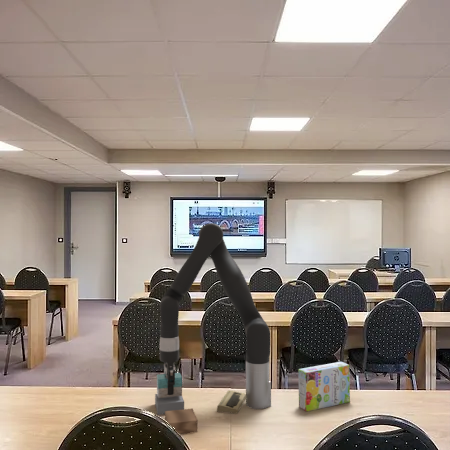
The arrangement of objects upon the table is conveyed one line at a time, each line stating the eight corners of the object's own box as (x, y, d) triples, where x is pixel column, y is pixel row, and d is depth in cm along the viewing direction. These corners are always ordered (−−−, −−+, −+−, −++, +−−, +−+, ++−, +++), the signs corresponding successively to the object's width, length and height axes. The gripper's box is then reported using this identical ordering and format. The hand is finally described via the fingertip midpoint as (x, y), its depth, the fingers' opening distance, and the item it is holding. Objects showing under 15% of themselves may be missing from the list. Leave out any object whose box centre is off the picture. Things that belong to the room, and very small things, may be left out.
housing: (179, 390, 176) (179, 372, 176) (182, 395, 170) (181, 377, 170) (156, 392, 174) (156, 374, 173) (158, 398, 168) (158, 379, 168)
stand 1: (180, 401, 178) (180, 391, 178) (184, 412, 168) (184, 401, 168) (155, 404, 176) (155, 394, 176) (157, 414, 166) (157, 404, 166)
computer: (237, 415, 167) (237, 406, 167) (216, 412, 169) (216, 404, 169) (246, 399, 182) (246, 391, 182) (227, 397, 184) (227, 389, 184)
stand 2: (192, 419, 162) (192, 408, 162) (197, 431, 152) (197, 420, 152) (165, 422, 160) (165, 411, 160) (168, 435, 150) (168, 423, 150)
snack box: (341, 397, 183) (341, 360, 182) (350, 402, 177) (350, 364, 177) (297, 406, 173) (297, 368, 173) (306, 412, 168) (306, 372, 168)
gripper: (181, 352, 166) (182, 397, 166) (176, 342, 180) (176, 384, 180) (161, 353, 164) (161, 399, 164) (157, 343, 178) (158, 386, 178)
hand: (169, 391), depth 172 cm, fingers closed on housing, 5 cm apart
